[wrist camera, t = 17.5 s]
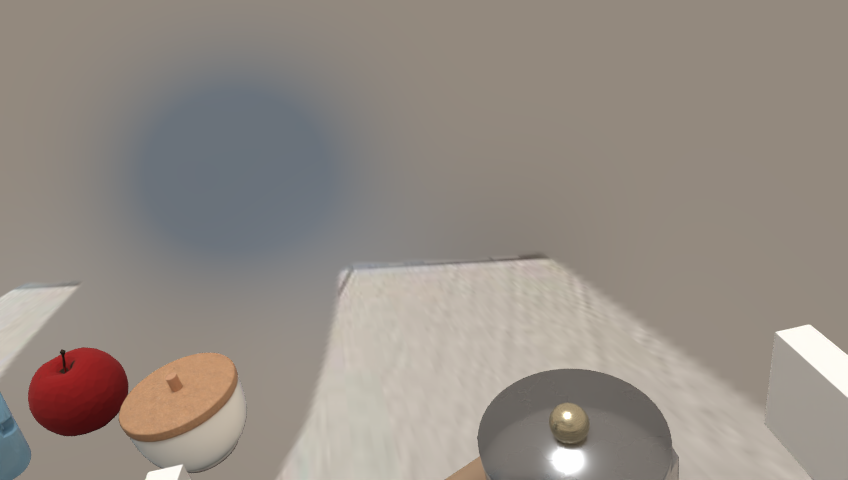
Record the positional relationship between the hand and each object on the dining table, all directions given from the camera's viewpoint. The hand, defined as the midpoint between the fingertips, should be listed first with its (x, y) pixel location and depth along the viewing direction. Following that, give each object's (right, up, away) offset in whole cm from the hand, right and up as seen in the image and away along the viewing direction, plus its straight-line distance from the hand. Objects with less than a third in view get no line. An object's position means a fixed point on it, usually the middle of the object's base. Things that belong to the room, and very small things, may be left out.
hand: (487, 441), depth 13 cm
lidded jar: (-23, -16, +43) cm, 52 cm away
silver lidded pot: (+10, -16, +26) cm, 32 cm away
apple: (-38, -16, +51) cm, 66 cm away
